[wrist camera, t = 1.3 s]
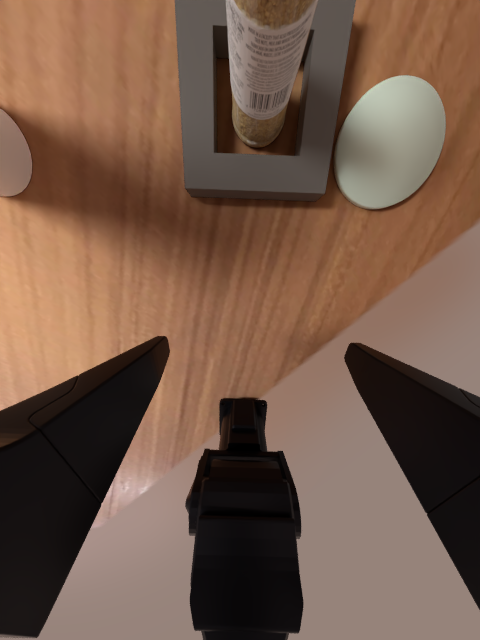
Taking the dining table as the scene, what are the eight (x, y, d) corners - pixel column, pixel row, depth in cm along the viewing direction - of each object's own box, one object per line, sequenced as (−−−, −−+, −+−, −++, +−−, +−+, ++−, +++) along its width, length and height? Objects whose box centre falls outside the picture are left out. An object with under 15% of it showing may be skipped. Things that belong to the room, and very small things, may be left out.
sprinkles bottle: (289, 86, 14) (684, -1349, 2) (278, 155, 16) (436, -310, 3) (234, 76, 14) (173, -1643, 1) (227, 146, 16) (167, -387, 3)
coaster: (416, 211, 17) (422, 209, 16) (324, 207, 17) (327, 205, 16) (455, 85, 14) (464, 77, 14) (345, 80, 14) (349, 73, 14)
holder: (315, 201, 17) (325, 193, 15) (191, 196, 17) (184, 188, 15) (342, 16, 13) (359, -26, 11) (182, 9, 13) (172, -34, 11)
